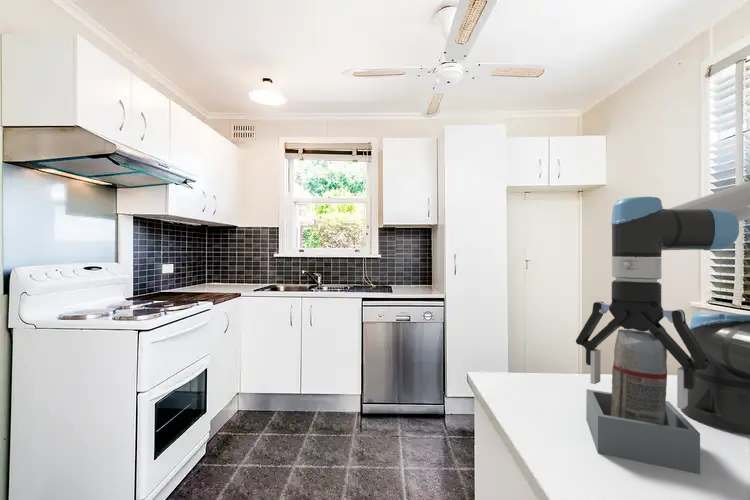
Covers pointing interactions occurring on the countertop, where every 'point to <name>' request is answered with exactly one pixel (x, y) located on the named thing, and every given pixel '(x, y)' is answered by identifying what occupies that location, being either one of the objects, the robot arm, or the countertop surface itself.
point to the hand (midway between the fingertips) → (635, 393)
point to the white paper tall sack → (639, 377)
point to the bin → (643, 436)
